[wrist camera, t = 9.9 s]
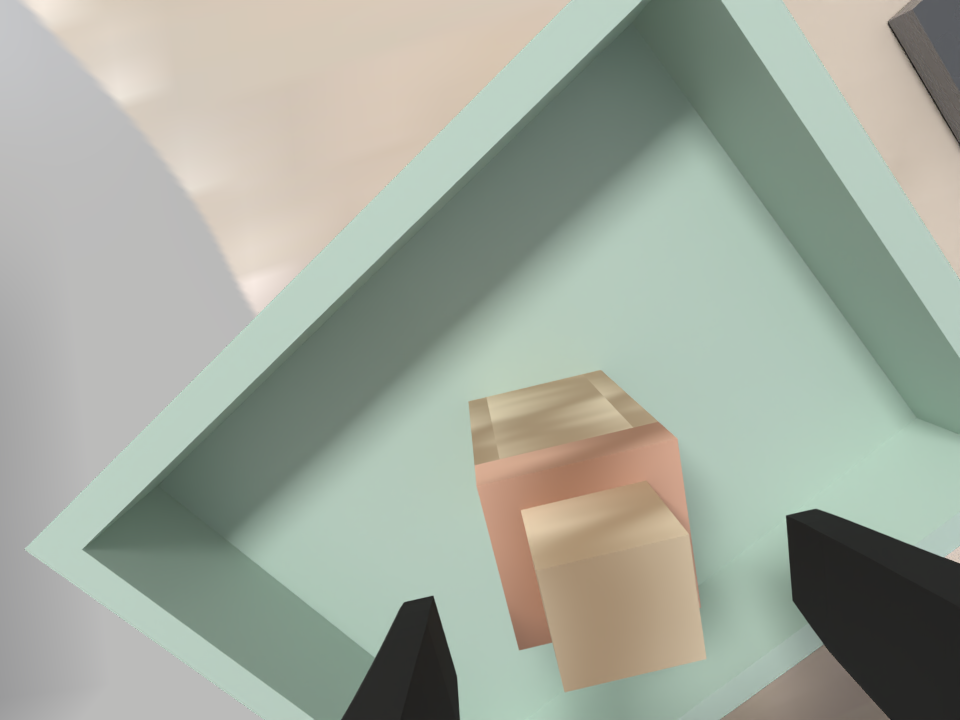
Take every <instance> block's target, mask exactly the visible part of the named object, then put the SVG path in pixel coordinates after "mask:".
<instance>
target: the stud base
mask: <svg viewBox="0 0 960 720" xmlns="http://www.w3.org/2000/svg"><path fill="white" fill-rule="evenodd" d="M888 23H889V24H890V26H891V28H892V29H893V31H894V33H895V34H896V36H897V38H898V40H899V41H900V43H901V45H902V46H903V48H904V50H905V51H906V53H907V55H908V57H909V58H910V60H911V62H912V63H913V65H914V67H915V68H916V70H917V72H918V74H919V75H920V77H921V79H922V80H923V82H924V84H925V85H926V87H927V89H928V91H929V92H930V94H931V96H932V97H933V99H934V101H935V102H936V104H937V106H938V108H939V109H940V111H941V113H942V114H943V116H944V118H945V119H946V121H947V123H948V125H949V126H950V128H951V130H952V131H953V133H954V135H955V136H956V138H957V140H958V142H959V143H960V0H911V1H910V2H909V3H908V4H907V5H906V6H905V7H903V8H902V9H901V10H900V11H899V12H898V13H897V14H896V15H895V16H893V17H892V18H891V19H890V20H889V21H888Z"/></svg>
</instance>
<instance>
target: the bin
mask: <svg viewBox="0 0 960 720" xmlns="http://www.w3.org/2000/svg"><path fill="white" fill-rule="evenodd" d="M598 370H602V371H603V372H604V373H605V374H606V375H607V376H608V377H609V378H611V379H612V380H613V381H614V382H615V383H616V384H617V385H618V386H619V387H621V388H622V389H623V390H624V391H625V392H626V393H627V394H628V395H629V396H631V397H632V398H633V399H634V400H635V401H636V402H637V403H638V404H639V405H641V406H642V407H643V408H644V409H645V410H646V411H647V412H648V413H650V414H651V415H652V416H653V417H654V418H655V419H656V420H657V421H658V422H660V423H661V424H662V425H663V426H664V427H665V428H666V429H667V430H668V431H670V432H671V433H672V434H673V435H674V436H675V437H676V438H677V439H678V446H679V453H680V460H681V467H682V474H683V481H684V489H685V496H686V503H687V510H688V517H689V524H690V532H691V539H692V546H693V553H694V560H695V567H696V575H697V582H698V589H699V596H700V603H701V608H700V616H701V623H702V630H703V637H704V644H705V651H706V658H707V659H705V660H700V661H696V662H692V663H688V664H683V665H679V666H675V667H671V668H666V669H662V670H658V671H654V672H649V673H645V674H641V675H637V676H632V677H628V678H624V679H620V680H615V681H611V682H607V683H603V684H598V685H594V686H590V687H586V688H581V689H577V690H573V691H569V692H564V688H563V684H562V680H561V676H560V672H559V668H558V664H557V660H556V656H555V652H554V648H553V643H549V644H545V645H540V646H536V647H532V648H528V649H523V650H519V649H518V645H517V641H516V637H515V633H514V629H513V625H512V622H511V618H510V614H509V610H508V606H507V602H506V598H505V595H504V591H503V587H502V583H501V579H500V575H499V571H498V567H497V564H496V560H495V556H494V552H493V548H492V544H491V540H490V536H489V533H488V529H487V525H486V521H485V517H484V513H483V509H482V506H481V502H480V498H479V494H478V490H477V486H476V476H475V465H474V455H473V444H472V434H471V424H470V413H469V403H468V401H472V400H476V399H480V398H485V397H489V396H493V395H497V394H501V393H506V392H510V391H514V390H518V389H522V388H527V387H531V386H535V385H539V384H543V383H548V382H552V381H556V380H560V379H564V378H569V377H573V376H577V375H581V374H585V373H590V372H594V371H598ZM812 509H819V510H822V511H825V512H828V513H831V514H833V515H836V516H839V517H842V518H844V519H847V520H849V521H852V522H855V523H857V524H860V525H862V526H865V527H867V528H870V529H872V530H875V531H877V532H880V533H883V534H885V535H888V536H890V537H893V538H895V539H898V540H900V541H903V542H905V543H908V544H910V545H913V546H915V547H918V548H921V549H923V550H926V551H928V552H931V553H933V554H936V555H939V556H941V557H945V556H947V555H948V554H949V553H951V552H952V551H953V550H955V549H956V548H958V547H959V546H960V279H959V278H958V276H957V275H956V273H955V272H954V270H953V268H952V267H951V265H950V264H949V262H948V261H947V259H946V257H945V256H944V254H943V253H942V251H941V250H940V248H939V246H938V245H937V243H936V242H935V240H934V239H933V237H932V235H931V234H930V232H929V231H928V229H927V227H926V226H925V224H924V223H923V221H922V220H921V218H920V216H919V215H918V213H917V212H916V210H915V209H914V207H913V205H912V204H911V202H910V201H909V199H908V198H907V196H906V194H905V193H904V191H903V190H902V188H901V187H900V185H899V183H898V182H897V180H896V179H895V177H894V176H893V174H892V172H891V171H890V169H889V168H888V166H887V165H886V163H885V161H884V160H883V158H882V157H881V155H880V154H879V152H878V150H877V149H876V147H875V146H874V144H873V143H872V141H871V139H870V138H869V136H868V135H867V133H866V132H865V130H864V128H863V127H862V125H861V124H860V122H859V120H858V119H857V117H856V116H855V114H854V113H853V111H852V109H851V108H850V106H849V105H848V103H847V102H846V100H845V98H844V97H843V95H842V94H841V92H840V91H839V89H838V87H837V86H836V84H835V83H834V81H833V80H832V78H831V76H830V75H829V73H828V72H827V70H826V69H825V67H824V65H823V64H822V62H821V61H820V59H819V58H818V56H817V54H816V53H815V51H814V50H813V48H812V47H811V45H810V43H809V42H808V40H807V39H806V37H805V36H804V34H803V32H802V31H801V29H800V28H799V26H798V24H797V23H796V21H795V20H794V18H793V17H792V15H791V13H790V12H789V10H788V9H787V7H786V6H785V4H784V2H783V1H782V0H571V1H570V2H569V3H568V4H567V5H566V6H565V7H564V8H563V9H562V10H561V11H560V12H559V13H558V14H557V15H556V16H555V17H554V18H553V19H552V20H551V21H550V22H549V23H548V24H547V25H546V26H545V27H544V28H543V29H542V30H541V31H540V32H539V33H538V34H537V35H536V36H535V37H534V38H533V39H532V40H531V41H530V42H529V43H528V44H527V45H526V46H525V47H524V48H523V49H522V50H521V51H520V52H519V53H518V54H517V55H516V56H515V57H514V58H513V59H512V60H511V61H510V62H509V63H508V64H507V65H506V66H505V67H504V68H503V69H502V70H501V71H500V72H499V73H498V74H497V76H496V77H495V78H494V79H493V80H492V81H491V82H490V83H489V84H488V85H487V86H486V87H485V88H484V89H483V90H482V91H481V92H480V93H479V94H478V95H477V96H476V97H475V98H474V99H473V100H472V101H471V102H470V103H469V104H468V105H467V106H466V107H465V108H464V109H463V110H462V111H461V112H460V113H459V114H458V115H457V116H456V117H455V118H454V119H453V120H452V121H451V122H450V123H449V124H448V125H447V126H446V127H445V128H444V129H443V130H442V131H441V132H440V133H439V134H438V135H437V136H436V137H435V138H434V139H433V140H432V141H431V142H430V143H429V144H428V145H427V146H426V147H425V148H424V149H423V150H422V151H421V152H420V153H419V154H418V155H417V156H416V157H415V158H414V159H413V160H412V161H411V162H410V163H409V164H408V165H407V166H406V167H405V168H404V169H403V170H402V171H401V172H400V173H399V174H398V175H397V176H396V177H395V178H394V179H393V180H392V181H391V182H390V183H389V184H388V185H387V186H386V187H385V188H384V189H383V190H382V191H381V192H380V193H379V194H378V195H377V196H376V197H375V198H374V199H373V200H372V201H371V202H370V203H369V204H368V205H367V206H366V207H365V208H364V209H363V210H362V211H361V212H360V213H359V214H358V215H357V216H356V217H355V218H354V219H353V220H352V221H351V222H350V223H349V224H348V225H347V226H346V227H345V228H344V229H343V230H342V231H341V232H340V233H339V234H338V235H337V236H336V237H335V238H334V239H333V240H332V241H331V242H330V243H329V244H328V245H327V246H326V247H325V248H324V249H323V250H322V251H321V252H320V253H319V254H318V255H317V256H316V257H315V258H314V259H313V260H312V261H311V262H310V263H309V264H308V265H307V266H306V267H305V268H304V269H303V270H302V271H301V272H300V273H299V274H298V275H297V276H296V277H295V278H294V279H293V280H292V281H291V282H290V283H289V284H288V285H287V286H286V287H285V288H284V289H283V290H282V291H281V292H280V293H279V294H278V295H277V296H276V297H275V298H274V299H273V300H272V301H271V302H270V303H269V304H268V305H267V306H266V307H265V308H264V309H263V310H262V311H261V312H260V313H259V314H258V315H257V316H256V317H255V318H254V319H253V320H252V321H251V322H250V324H248V325H247V327H245V328H244V330H242V332H241V333H239V334H238V335H237V336H236V337H235V338H234V340H232V342H230V344H229V345H228V346H227V347H226V348H225V349H224V350H223V351H222V352H221V353H220V354H219V355H218V356H217V357H216V358H215V359H214V360H213V361H212V362H211V363H210V364H209V365H208V366H207V367H206V368H205V369H204V370H203V371H202V372H201V373H200V374H199V375H198V376H197V377H196V378H195V379H194V380H193V381H192V382H191V383H190V384H189V385H188V386H187V387H186V388H185V389H184V390H183V391H182V392H181V393H180V394H179V395H178V396H177V397H176V398H175V399H174V400H173V401H172V402H171V403H170V404H169V405H168V406H167V407H166V408H165V409H164V410H163V411H162V412H161V413H160V414H159V415H158V416H157V417H156V418H155V419H154V420H153V421H152V422H151V423H150V424H149V425H148V426H147V427H146V428H145V429H144V430H143V431H142V432H141V433H140V434H139V435H138V436H137V437H136V438H135V439H134V440H133V441H132V442H131V443H130V444H129V445H128V446H127V447H126V448H125V449H124V450H123V451H122V452H121V453H120V454H119V455H118V456H117V457H116V458H115V459H114V460H113V461H112V462H111V463H110V464H109V465H108V466H107V467H106V468H105V469H104V470H103V471H102V472H101V473H100V474H99V475H98V476H97V477H96V478H95V479H94V480H93V481H92V482H91V483H90V484H89V485H88V486H87V487H86V488H85V489H84V490H83V491H82V492H81V493H80V494H79V495H78V496H77V497H76V498H75V499H74V500H73V501H72V502H71V503H70V504H69V505H68V506H67V507H66V508H65V509H64V510H63V511H62V512H61V513H60V514H59V515H58V516H57V517H56V518H55V519H54V520H53V521H52V522H51V523H50V524H49V525H48V526H47V527H46V528H45V529H44V530H43V531H42V532H41V533H40V534H39V535H38V536H37V537H36V538H35V539H34V540H33V541H32V542H31V543H30V544H29V545H28V546H27V547H26V548H25V550H26V551H27V552H29V553H30V554H31V555H33V556H35V557H36V558H37V559H39V560H40V561H41V562H43V563H44V564H46V565H47V566H48V567H50V568H51V569H53V570H54V571H55V572H57V573H58V574H60V575H61V576H63V577H64V578H65V579H67V580H68V581H70V582H71V583H72V584H74V585H75V586H77V587H78V588H79V589H81V590H82V591H84V592H85V593H86V594H88V595H89V596H91V597H92V598H94V599H95V600H96V601H98V602H99V603H100V604H102V605H103V606H105V607H106V608H108V609H109V610H110V611H112V612H113V613H115V614H116V615H118V616H119V617H120V618H122V619H123V620H124V621H126V622H127V623H129V624H130V625H132V626H133V627H134V628H136V629H137V630H138V631H140V632H141V633H143V634H144V635H146V636H147V637H148V638H150V639H151V640H153V641H154V642H155V643H157V644H158V645H160V646H161V647H162V648H164V649H165V650H167V651H168V652H170V653H171V654H172V655H174V656H175V657H177V658H178V659H179V660H181V661H182V662H184V663H185V664H186V665H188V666H189V667H191V668H192V669H193V670H195V671H196V672H198V673H199V674H200V675H202V676H203V677H205V678H206V679H208V680H209V681H210V682H212V683H213V684H215V685H216V686H218V687H219V688H220V689H222V690H223V691H225V692H226V693H227V694H229V695H230V696H231V697H233V698H234V699H236V700H237V701H239V702H240V703H241V704H243V705H244V706H246V707H247V708H248V709H250V710H251V711H253V712H254V713H256V714H257V715H258V716H260V717H261V718H262V719H264V720H341V719H342V717H343V715H344V714H345V712H346V710H347V709H348V707H349V705H350V703H351V702H352V700H353V698H354V696H355V694H356V692H357V691H358V689H359V687H360V685H361V683H362V681H363V680H364V678H365V676H366V674H367V672H368V670H369V668H370V667H371V665H372V663H373V661H374V659H375V657H376V655H377V653H378V651H379V649H380V647H381V645H382V643H383V641H384V639H385V637H386V635H387V633H388V631H389V629H390V627H391V625H392V623H393V621H394V619H395V617H396V615H397V613H398V611H399V609H400V607H401V606H402V604H403V603H404V602H407V601H411V600H416V599H420V598H424V597H429V596H434V599H435V603H436V606H437V609H438V613H439V616H440V620H441V623H442V626H443V630H444V633H445V637H446V640H447V643H448V647H449V650H450V654H451V657H452V660H453V664H454V667H455V671H456V674H457V681H458V696H459V712H460V720H720V719H722V718H723V717H724V716H726V715H727V714H728V713H730V712H731V711H733V710H734V709H735V708H737V707H738V706H739V705H741V704H742V703H744V702H745V701H746V700H748V699H749V698H751V697H752V696H753V695H755V694H756V693H757V692H759V691H760V690H762V689H763V688H764V687H766V686H767V685H768V684H770V683H771V682H773V681H774V680H775V679H777V678H778V677H779V676H781V675H782V674H784V673H785V672H786V671H788V670H789V669H791V668H792V667H793V666H795V665H796V664H797V663H799V662H800V661H802V660H803V659H804V658H806V657H807V656H808V655H810V654H811V653H813V652H814V651H815V650H817V649H818V648H820V647H821V646H822V645H824V644H823V642H822V641H821V640H820V638H819V637H818V636H817V634H816V633H815V632H814V630H813V629H812V628H811V626H810V625H809V623H808V622H807V621H806V619H805V618H804V616H803V615H802V613H801V612H800V611H799V609H798V608H797V606H796V605H795V603H794V602H793V601H792V588H791V576H790V563H789V550H788V537H787V524H786V515H790V514H794V513H798V512H803V511H807V510H812Z"/></svg>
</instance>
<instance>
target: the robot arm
mask: <svg viewBox="0 0 960 720" xmlns="http://www.w3.org/2000/svg"><path fill="white" fill-rule="evenodd" d="M786 524H787V537H788V550H789V563H790V576H791V588H792V601H793V602H794V603H795V605H796V606H797V608H798V609H799V611H800V612H801V613H802V615H803V616H804V618H805V619H806V621H807V622H808V623H809V625H810V626H811V628H812V629H813V630H814V632H815V633H816V634H817V636H818V637H819V638H820V640H821V641H822V642H823V644H824V645H825V646H826V648H827V649H828V650H829V652H830V653H831V654H832V655H833V656H834V657H835V658H836V660H837V661H838V662H839V663H840V664H841V665H842V666H843V668H844V669H845V670H846V671H847V672H848V673H849V674H850V675H851V676H852V678H853V679H854V680H855V681H856V682H857V683H858V684H859V685H860V686H861V688H862V689H863V690H864V691H865V692H866V693H867V694H868V695H869V696H870V698H871V699H872V700H873V701H874V702H875V703H876V704H877V705H878V706H879V707H880V709H881V710H882V711H883V712H884V713H885V714H886V715H887V716H888V717H889V718H890V720H960V563H957V562H954V561H952V560H949V559H946V558H944V557H941V556H939V555H936V554H933V553H931V552H928V551H926V550H923V549H921V548H918V547H915V546H913V545H910V544H908V543H905V542H903V541H900V540H898V539H895V538H893V537H890V536H888V535H885V534H883V533H880V532H877V531H875V530H872V529H870V528H867V527H865V526H862V525H860V524H857V523H855V522H852V521H849V520H847V519H844V518H842V517H839V516H836V515H833V514H831V513H828V512H825V511H822V510H819V509H812V510H807V511H803V512H798V513H794V514H790V515H786ZM341 720H460V712H459V696H458V681H457V674H456V671H455V667H454V664H453V660H452V657H451V654H450V650H449V647H448V643H447V640H446V637H445V633H444V630H443V626H442V623H441V620H440V616H439V613H438V609H437V606H436V603H435V599H434V596H429V597H424V598H420V599H416V600H411V601H407V602H404V603H403V604H402V606H401V607H400V609H399V611H398V613H397V615H396V617H395V619H394V621H393V623H392V625H391V627H390V629H389V631H388V633H387V635H386V637H385V639H384V641H383V643H382V645H381V647H380V649H379V651H378V653H377V655H376V657H375V659H374V661H373V663H372V665H371V667H370V668H369V670H368V672H367V674H366V676H365V678H364V680H363V681H362V683H361V685H360V687H359V689H358V691H357V692H356V694H355V696H354V698H353V700H352V702H351V703H350V705H349V707H348V709H347V710H346V712H345V714H344V715H343V717H342V719H341Z"/></svg>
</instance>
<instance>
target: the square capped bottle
mask: <svg viewBox="0 0 960 720" xmlns="http://www.w3.org/2000/svg"><path fill="white" fill-rule="evenodd" d="M468 403H469V413H470V424H471V434H472V444H473V455H474V465H475V476H476V486H477V490H478V494H479V498H480V502H481V506H482V509H483V513H484V517H485V521H486V525H487V529H488V533H489V536H490V540H491V544H492V548H493V552H494V556H495V560H496V564H497V567H498V571H499V575H500V579H501V583H502V587H503V591H504V595H505V598H506V602H507V606H508V610H509V614H510V618H511V622H512V625H513V629H514V633H515V637H516V641H517V645H518V649H519V650H523V649H528V648H532V647H536V646H540V645H545V644H549V643H553V648H554V652H555V656H556V660H557V664H558V668H559V672H560V676H561V680H562V684H563V688H564V692H569V691H573V690H577V689H581V688H586V687H590V686H594V685H598V684H603V683H607V682H611V681H615V680H620V679H624V678H628V677H632V676H637V675H641V674H645V673H649V672H654V671H658V670H662V669H666V668H671V667H675V666H679V665H683V664H688V663H692V662H696V661H700V660H705V659H707V658H706V651H705V644H704V637H703V630H702V623H701V616H700V608H701V603H700V596H699V589H698V582H697V575H696V567H695V560H694V553H693V546H692V539H691V532H690V524H689V517H688V510H687V503H686V496H685V489H684V481H683V474H682V467H681V460H680V453H679V446H678V439H677V438H676V437H675V436H674V435H673V434H672V433H671V432H670V431H668V430H667V429H666V428H665V427H664V426H663V425H662V424H661V423H660V422H658V421H657V420H656V419H655V418H654V417H653V416H652V415H651V414H650V413H648V412H647V411H646V410H645V409H644V408H643V407H642V406H641V405H639V404H638V403H637V402H636V401H635V400H634V399H633V398H632V397H631V396H629V395H628V394H627V393H626V392H625V391H624V390H623V389H622V388H621V387H619V386H618V385H617V384H616V383H615V382H614V381H613V380H612V379H611V378H609V377H608V376H607V375H606V374H605V373H604V372H603V371H602V370H598V371H594V372H590V373H585V374H581V375H577V376H573V377H569V378H564V379H560V380H556V381H552V382H548V383H543V384H539V385H535V386H531V387H527V388H522V389H518V390H514V391H510V392H506V393H501V394H497V395H493V396H489V397H485V398H480V399H476V400H472V401H468Z"/></svg>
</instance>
